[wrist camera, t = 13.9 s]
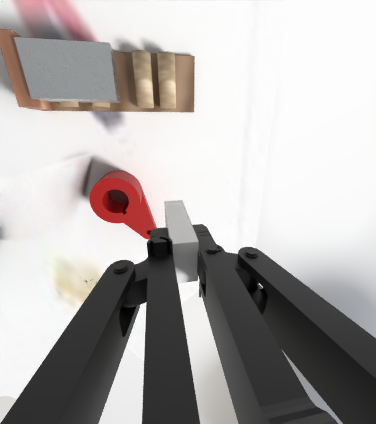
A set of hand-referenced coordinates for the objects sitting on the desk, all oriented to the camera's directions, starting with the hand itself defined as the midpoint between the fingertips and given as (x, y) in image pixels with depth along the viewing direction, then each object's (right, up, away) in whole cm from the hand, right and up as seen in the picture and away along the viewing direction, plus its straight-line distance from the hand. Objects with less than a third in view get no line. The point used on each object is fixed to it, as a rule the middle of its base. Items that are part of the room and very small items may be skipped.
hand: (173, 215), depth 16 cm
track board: (-12, +24, +19) cm, 33 cm away
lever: (-12, +2, +29) cm, 31 cm away
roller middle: (-5, +23, +17) cm, 29 cm away
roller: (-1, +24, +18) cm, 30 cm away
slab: (-16, +22, +15) cm, 31 cm away
